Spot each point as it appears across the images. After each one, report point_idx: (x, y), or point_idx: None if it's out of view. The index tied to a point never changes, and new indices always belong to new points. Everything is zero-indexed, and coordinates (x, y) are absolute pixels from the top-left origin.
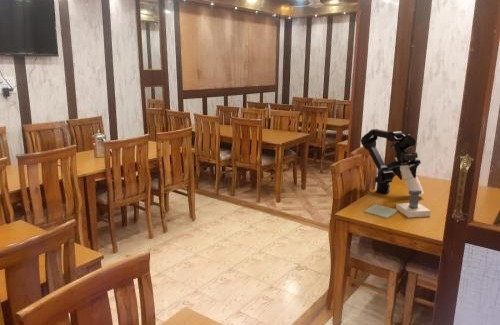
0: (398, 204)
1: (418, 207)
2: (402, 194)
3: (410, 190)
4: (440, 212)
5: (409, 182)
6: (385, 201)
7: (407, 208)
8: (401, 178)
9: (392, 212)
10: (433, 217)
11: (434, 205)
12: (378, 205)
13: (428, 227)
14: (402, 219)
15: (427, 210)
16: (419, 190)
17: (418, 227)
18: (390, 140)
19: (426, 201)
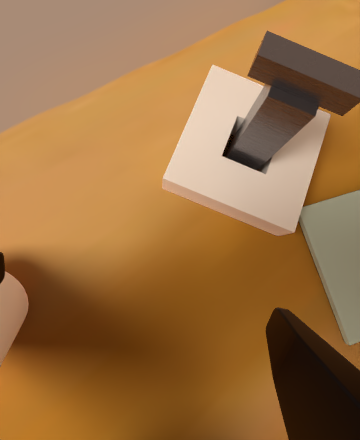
0: (295, 218)
1: (230, 124)
2: (19, 406)
3: (8, 345)
4: (117, 83)
5: None
6: (239, 360)
7: (297, 149)
8: (294, 316)
9: (347, 202)
10: (206, 69)
11: (44, 155)
12: (344, 318)
13: (316, 28)
14: (350, 133)
15: (225, 73)
16: (266, 49)
17: (352, 49)
18: None
19: (17, 220)
